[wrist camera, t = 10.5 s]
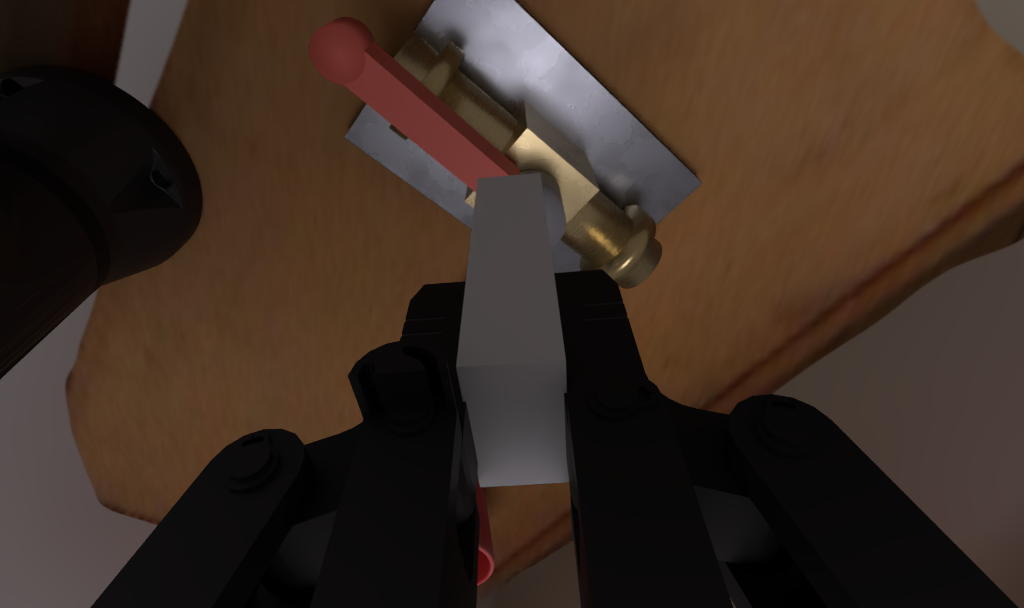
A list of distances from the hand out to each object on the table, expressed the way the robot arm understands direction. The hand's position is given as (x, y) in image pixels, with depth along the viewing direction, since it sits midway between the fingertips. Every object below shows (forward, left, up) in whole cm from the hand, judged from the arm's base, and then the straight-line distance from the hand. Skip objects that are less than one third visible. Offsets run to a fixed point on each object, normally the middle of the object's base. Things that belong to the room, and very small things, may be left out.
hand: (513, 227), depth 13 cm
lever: (0, -5, -19) cm, 19 cm away
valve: (+6, -5, -26) cm, 28 cm away
